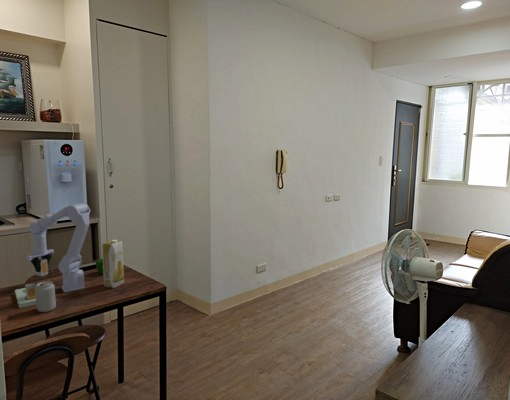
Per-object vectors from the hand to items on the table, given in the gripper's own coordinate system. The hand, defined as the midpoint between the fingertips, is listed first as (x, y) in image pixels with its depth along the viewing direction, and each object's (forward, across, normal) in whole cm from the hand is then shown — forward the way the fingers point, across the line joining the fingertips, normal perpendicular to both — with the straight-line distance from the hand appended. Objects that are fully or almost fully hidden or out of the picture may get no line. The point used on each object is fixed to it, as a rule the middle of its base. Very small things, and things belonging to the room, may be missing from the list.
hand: (41, 270), depth 192 cm
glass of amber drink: (+8, +17, +12) cm, 23 cm away
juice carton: (+8, -13, +34) cm, 37 cm away
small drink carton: (+2, 0, 0) cm, 2 cm away
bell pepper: (+8, -26, +16) cm, 32 cm away
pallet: (+8, +14, +8) cm, 18 cm away
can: (+8, +21, +25) cm, 34 cm away
